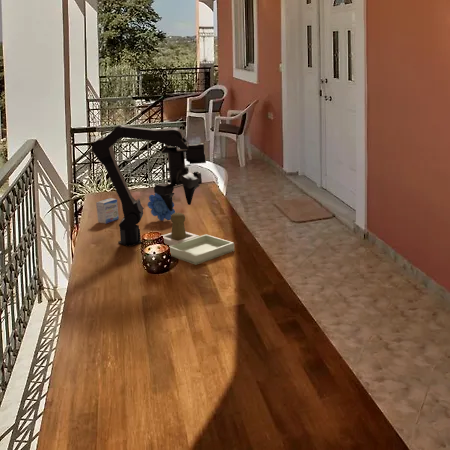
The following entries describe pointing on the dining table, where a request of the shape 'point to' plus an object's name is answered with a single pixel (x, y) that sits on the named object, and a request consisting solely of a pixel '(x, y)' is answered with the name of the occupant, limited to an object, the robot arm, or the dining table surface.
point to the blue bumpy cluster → (159, 207)
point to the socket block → (171, 241)
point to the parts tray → (201, 249)
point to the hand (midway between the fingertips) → (180, 207)
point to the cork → (178, 226)
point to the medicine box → (107, 210)
